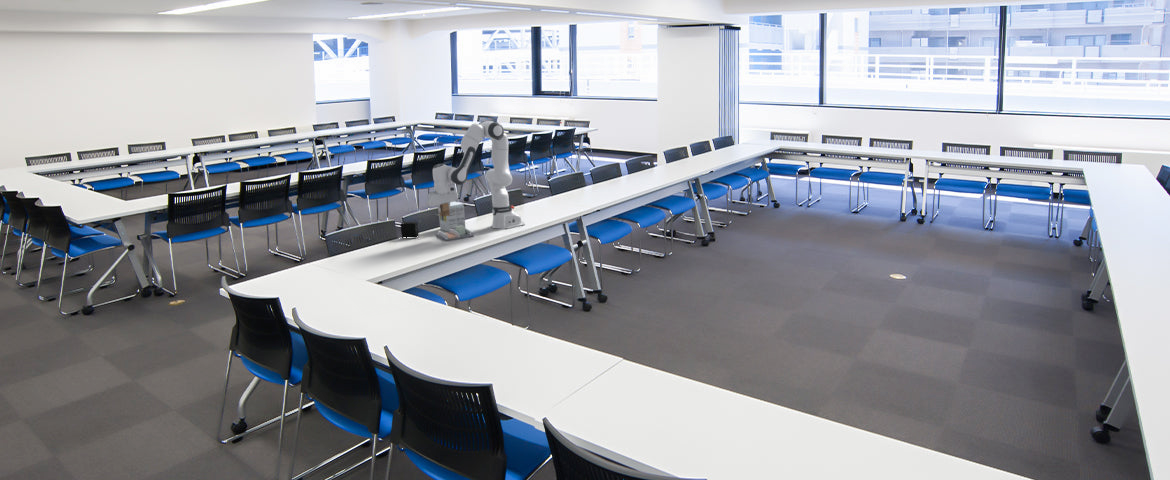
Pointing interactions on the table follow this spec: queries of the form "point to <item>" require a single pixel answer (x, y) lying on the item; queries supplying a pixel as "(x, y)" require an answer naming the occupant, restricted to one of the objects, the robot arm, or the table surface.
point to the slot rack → (455, 234)
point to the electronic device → (409, 229)
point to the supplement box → (453, 217)
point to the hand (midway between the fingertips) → (444, 210)
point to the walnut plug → (444, 210)
